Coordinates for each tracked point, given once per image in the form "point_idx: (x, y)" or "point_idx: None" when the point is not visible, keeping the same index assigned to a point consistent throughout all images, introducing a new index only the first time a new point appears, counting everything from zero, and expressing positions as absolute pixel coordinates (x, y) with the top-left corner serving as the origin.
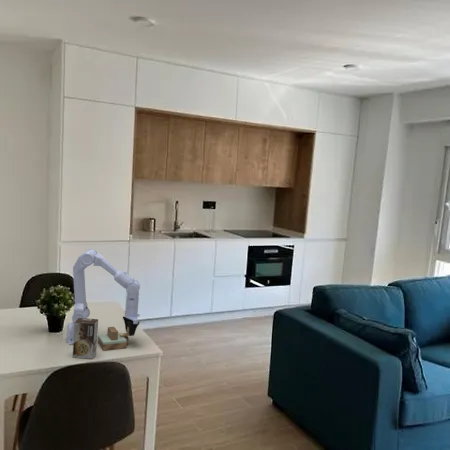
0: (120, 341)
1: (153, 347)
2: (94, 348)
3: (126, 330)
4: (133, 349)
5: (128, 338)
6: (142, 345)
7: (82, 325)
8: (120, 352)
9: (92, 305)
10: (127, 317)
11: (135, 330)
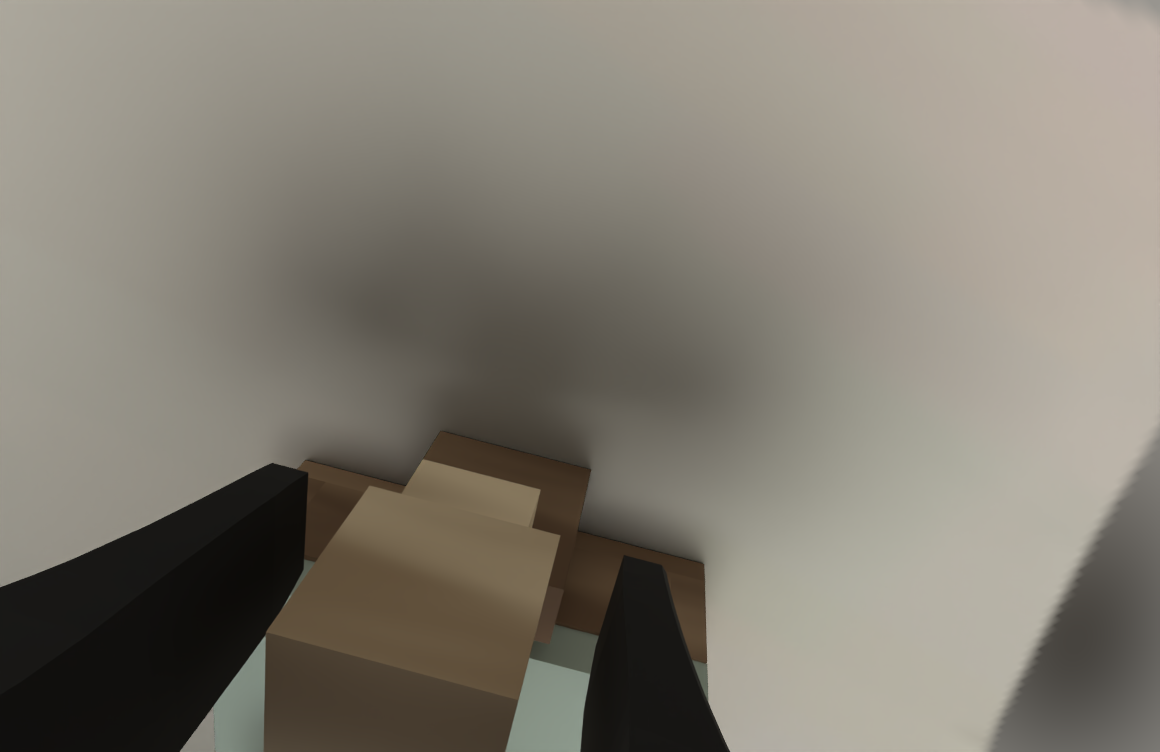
0: None
1: (1066, 6)
2: None
3: (284, 597)
4: (831, 491)
5: (567, 571)
6: (757, 207)
7: None
8: (803, 712)
9: None
10: None
11: (705, 699)
